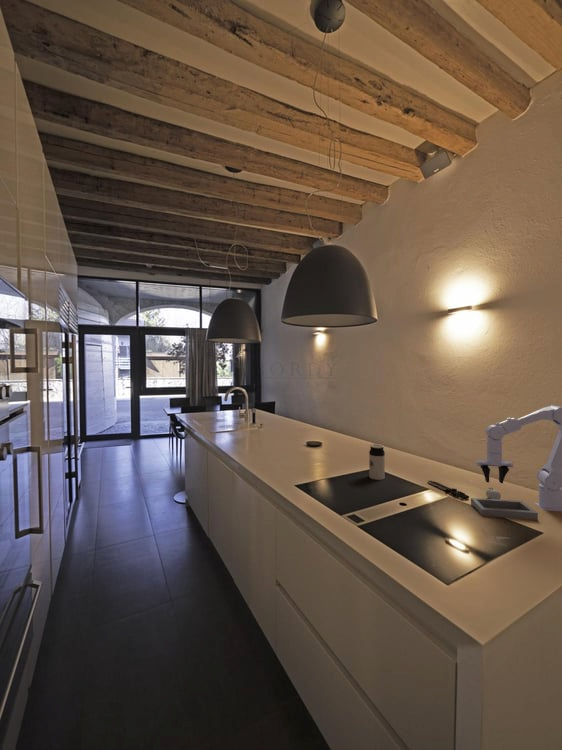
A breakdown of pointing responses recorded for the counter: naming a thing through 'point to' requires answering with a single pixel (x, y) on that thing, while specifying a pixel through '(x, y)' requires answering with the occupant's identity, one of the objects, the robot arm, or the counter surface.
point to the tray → (504, 508)
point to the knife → (453, 491)
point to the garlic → (493, 494)
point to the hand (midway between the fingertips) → (494, 482)
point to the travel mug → (376, 462)
